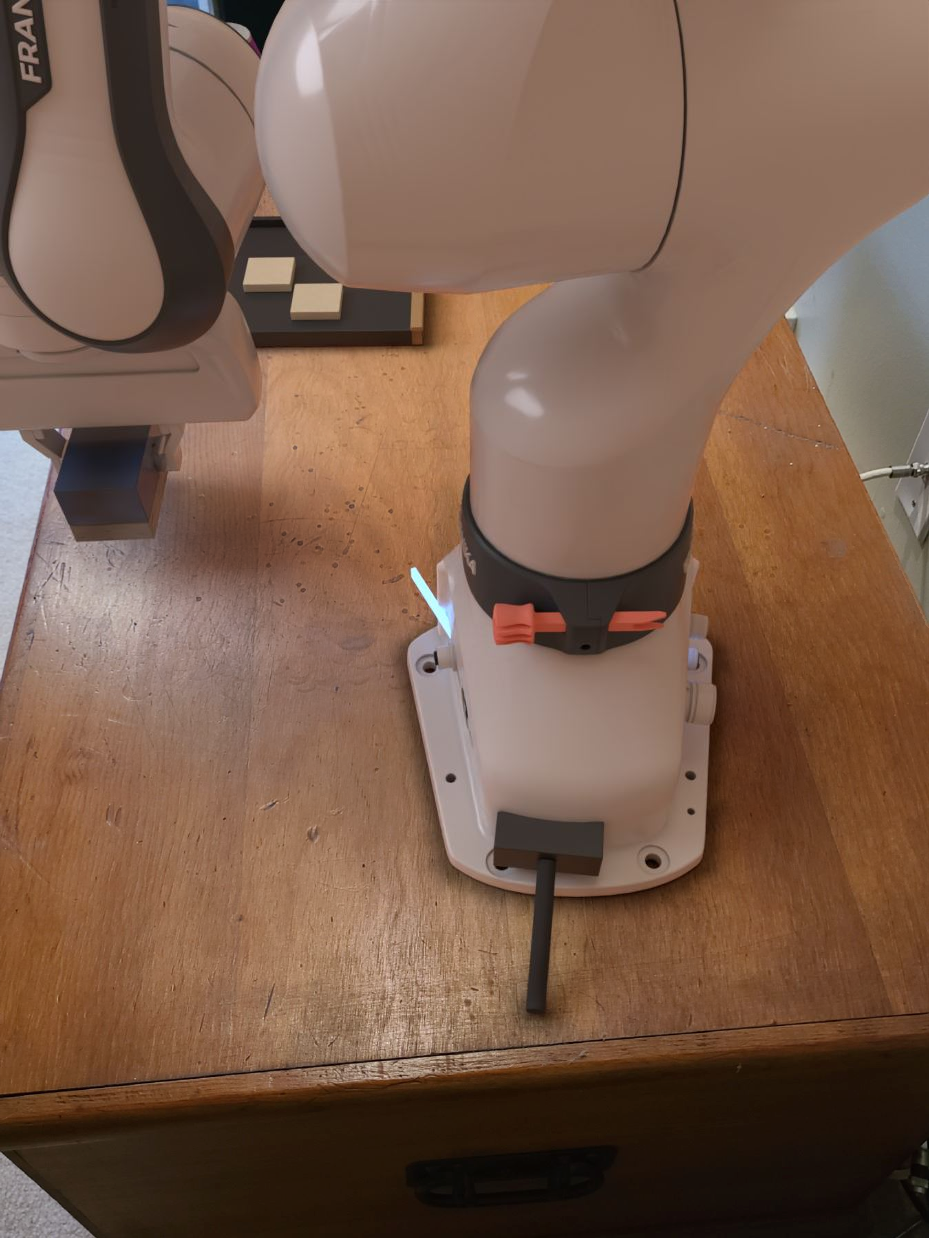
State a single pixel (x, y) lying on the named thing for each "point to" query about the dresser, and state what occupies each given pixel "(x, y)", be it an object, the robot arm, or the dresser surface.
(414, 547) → the dresser surface
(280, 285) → the chalk tile
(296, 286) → the chalk tile
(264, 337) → the slate board
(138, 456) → the eraser
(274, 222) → the tray
